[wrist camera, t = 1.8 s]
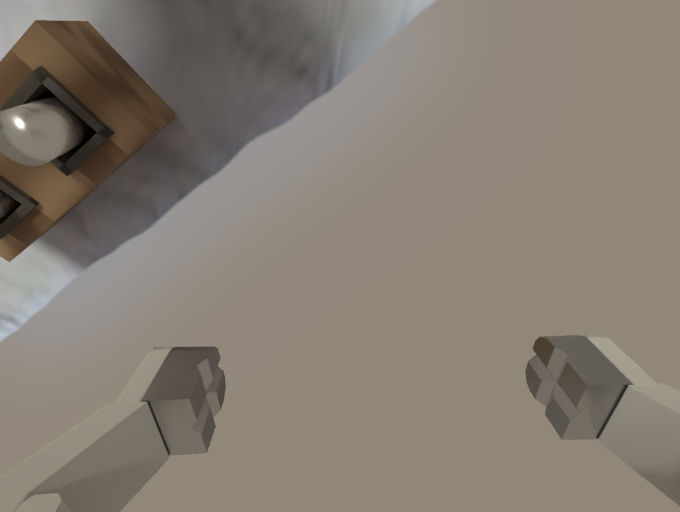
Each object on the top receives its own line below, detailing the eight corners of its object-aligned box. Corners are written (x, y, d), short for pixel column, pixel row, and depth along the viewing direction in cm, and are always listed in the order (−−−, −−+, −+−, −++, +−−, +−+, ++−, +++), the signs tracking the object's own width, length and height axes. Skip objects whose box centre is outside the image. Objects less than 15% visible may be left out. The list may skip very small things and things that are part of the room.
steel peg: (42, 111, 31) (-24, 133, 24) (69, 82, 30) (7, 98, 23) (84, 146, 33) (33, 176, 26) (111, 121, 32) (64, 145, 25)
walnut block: (-42, 162, 36) (-117, 193, 30) (87, 21, 31) (30, 20, 24) (51, 227, 41) (5, 265, 35) (176, 115, 36) (149, 136, 29)
